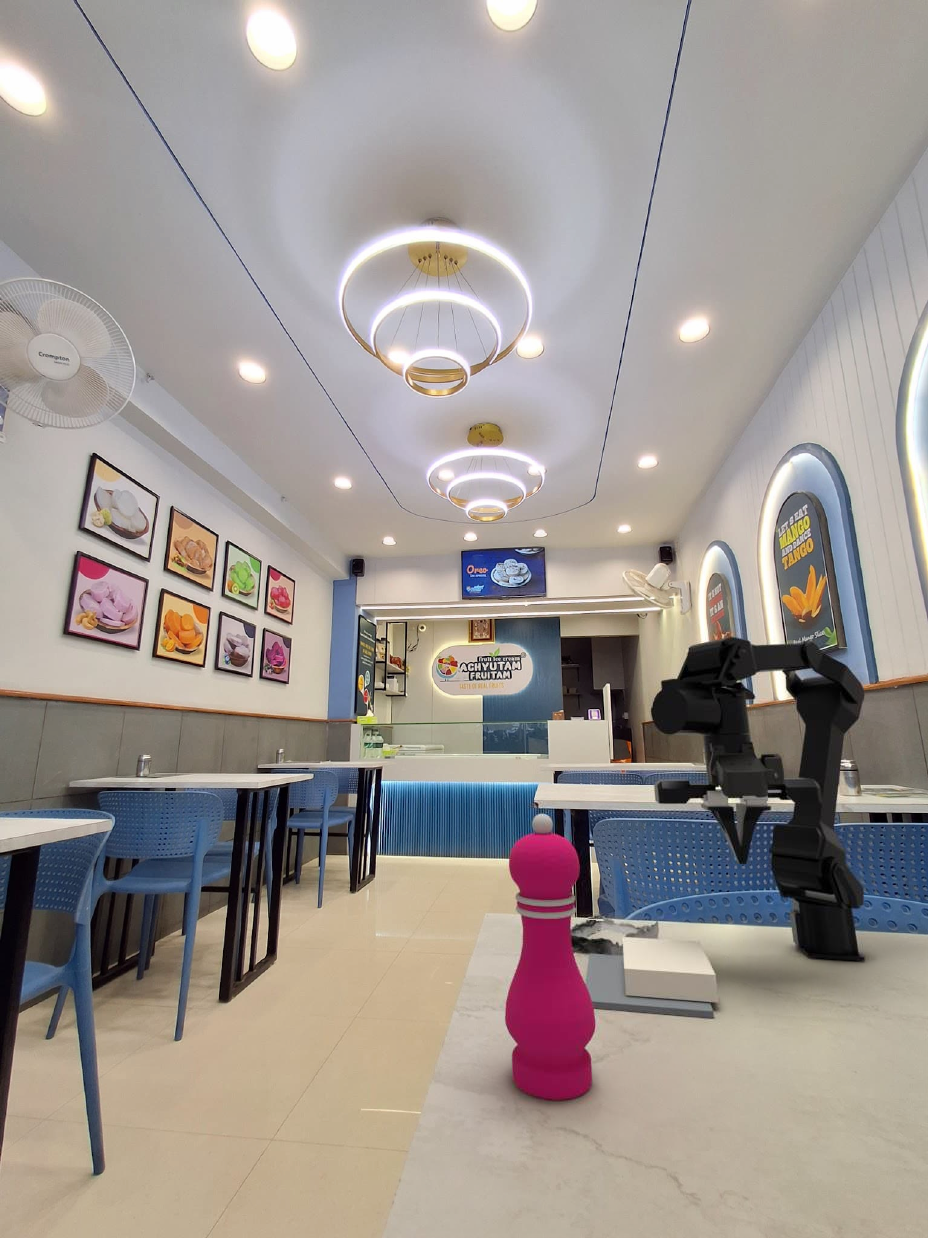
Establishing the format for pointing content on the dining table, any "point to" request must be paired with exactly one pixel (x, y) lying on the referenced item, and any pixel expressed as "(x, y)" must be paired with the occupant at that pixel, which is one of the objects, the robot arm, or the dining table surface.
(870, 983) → the dining table surface
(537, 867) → the pepper mill
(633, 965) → the ceramic tile
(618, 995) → the slate mat
